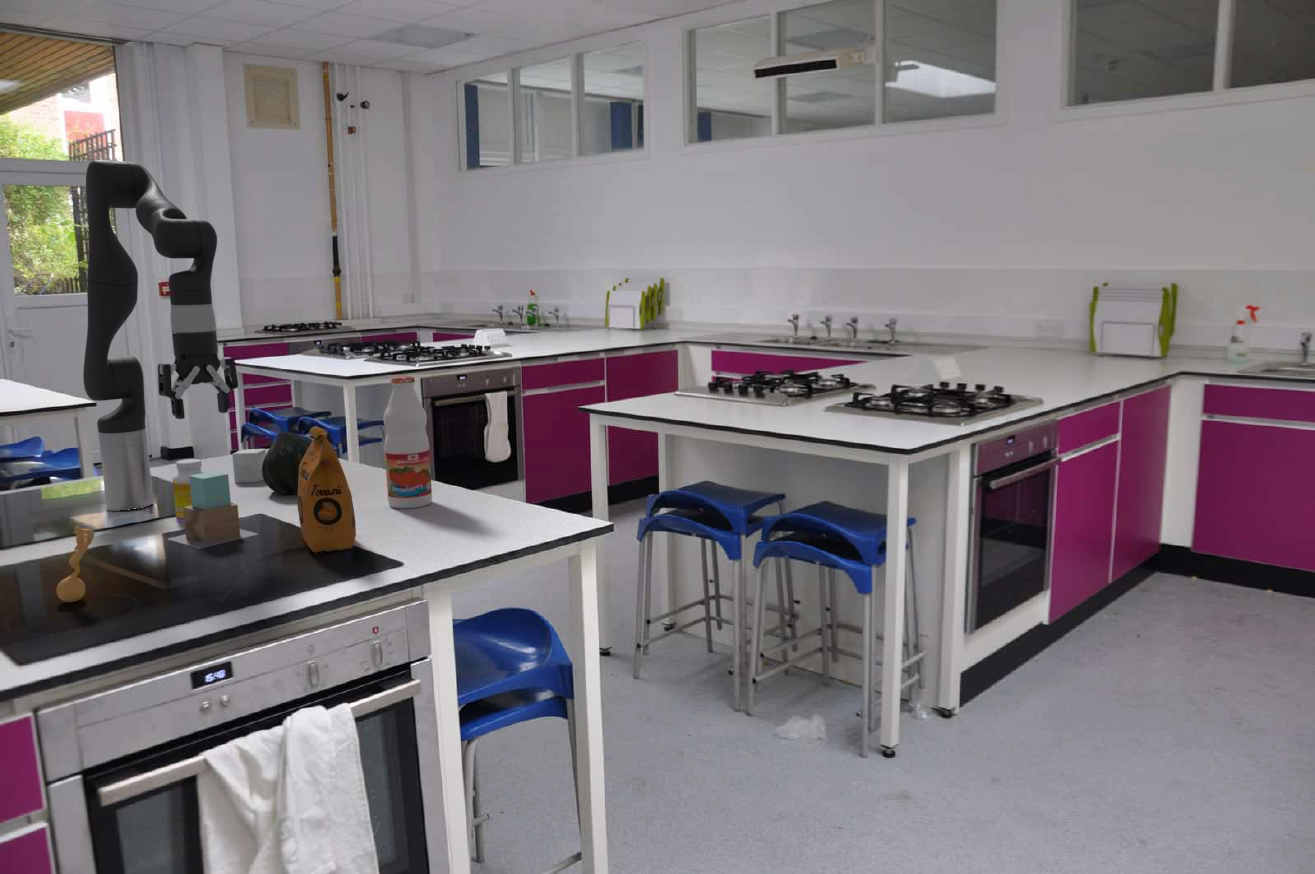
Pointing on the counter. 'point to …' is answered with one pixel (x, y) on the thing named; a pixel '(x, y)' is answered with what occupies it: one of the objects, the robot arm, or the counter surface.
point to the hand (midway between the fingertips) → (201, 415)
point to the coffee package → (324, 497)
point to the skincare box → (248, 465)
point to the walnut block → (211, 523)
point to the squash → (284, 462)
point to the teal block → (210, 490)
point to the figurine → (73, 586)
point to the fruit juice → (406, 447)
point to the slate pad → (200, 545)
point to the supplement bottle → (184, 484)
